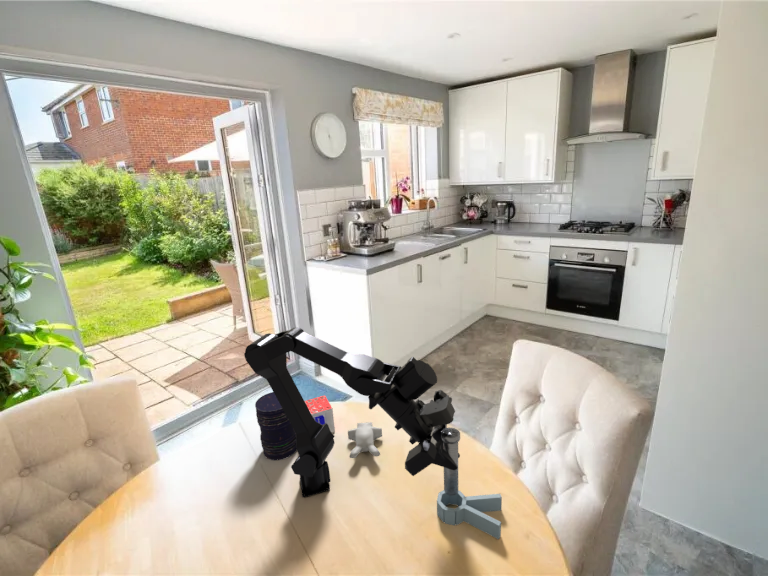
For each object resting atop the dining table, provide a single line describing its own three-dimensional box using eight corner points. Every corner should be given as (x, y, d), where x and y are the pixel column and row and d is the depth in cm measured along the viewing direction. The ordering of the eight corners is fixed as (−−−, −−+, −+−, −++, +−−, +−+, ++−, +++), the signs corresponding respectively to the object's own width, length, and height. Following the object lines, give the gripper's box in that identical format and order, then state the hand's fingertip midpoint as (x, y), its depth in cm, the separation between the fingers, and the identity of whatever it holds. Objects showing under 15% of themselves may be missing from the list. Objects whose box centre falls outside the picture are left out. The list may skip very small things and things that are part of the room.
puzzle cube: (327, 417, 119) (325, 395, 117) (335, 431, 112) (332, 408, 110) (302, 425, 116) (298, 402, 114) (308, 440, 109) (304, 416, 107)
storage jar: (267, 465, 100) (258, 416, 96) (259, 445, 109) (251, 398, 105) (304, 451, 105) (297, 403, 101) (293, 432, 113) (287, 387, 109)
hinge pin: (442, 497, 80) (441, 439, 76) (441, 483, 83) (440, 427, 79) (461, 497, 79) (461, 439, 75) (459, 483, 83) (459, 427, 79)
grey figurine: (380, 416, 112) (382, 445, 97) (382, 432, 113) (383, 463, 98) (348, 418, 111) (345, 448, 97) (349, 435, 112) (346, 466, 97)
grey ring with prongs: (434, 525, 80) (434, 512, 79) (441, 495, 87) (440, 482, 87) (500, 540, 76) (500, 526, 75) (501, 507, 83) (501, 493, 82)
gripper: (419, 415, 67) (483, 478, 67) (437, 366, 85) (489, 416, 84) (379, 446, 72) (439, 505, 72) (404, 393, 89) (453, 441, 89)
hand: (457, 463), depth 79 cm, fingers closed on hinge pin, 3 cm apart
